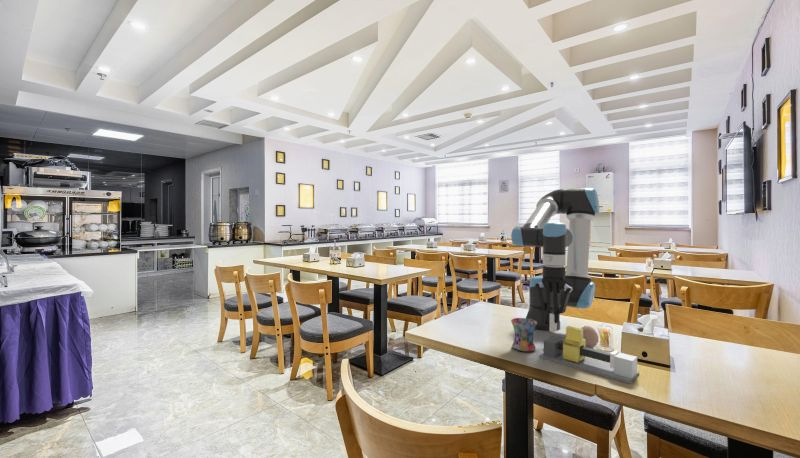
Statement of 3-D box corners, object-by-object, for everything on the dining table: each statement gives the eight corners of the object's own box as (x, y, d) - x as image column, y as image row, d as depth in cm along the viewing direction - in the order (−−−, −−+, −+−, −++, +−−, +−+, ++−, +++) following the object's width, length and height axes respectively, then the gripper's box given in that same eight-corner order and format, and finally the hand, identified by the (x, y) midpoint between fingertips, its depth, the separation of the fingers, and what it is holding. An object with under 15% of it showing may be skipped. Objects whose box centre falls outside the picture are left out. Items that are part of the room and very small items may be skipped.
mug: (530, 355, 129) (530, 326, 129) (506, 349, 136) (506, 321, 135) (543, 347, 138) (544, 319, 137) (521, 341, 144) (521, 315, 144)
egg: (597, 346, 139) (597, 324, 139) (599, 352, 132) (599, 329, 132) (576, 343, 142) (577, 322, 142) (577, 349, 135) (577, 327, 135)
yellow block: (570, 353, 127) (570, 324, 127) (585, 357, 124) (585, 327, 123) (562, 358, 123) (563, 328, 123) (578, 362, 119) (578, 331, 119)
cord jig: (551, 350, 134) (552, 332, 134) (639, 374, 114) (639, 353, 113) (539, 357, 127) (539, 338, 127) (629, 383, 107) (630, 361, 107)
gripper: (531, 265, 130) (530, 329, 131) (568, 268, 121) (567, 337, 121) (541, 263, 135) (540, 325, 136) (577, 266, 126) (576, 333, 126)
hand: (553, 331), depth 129 cm, fingers closed
